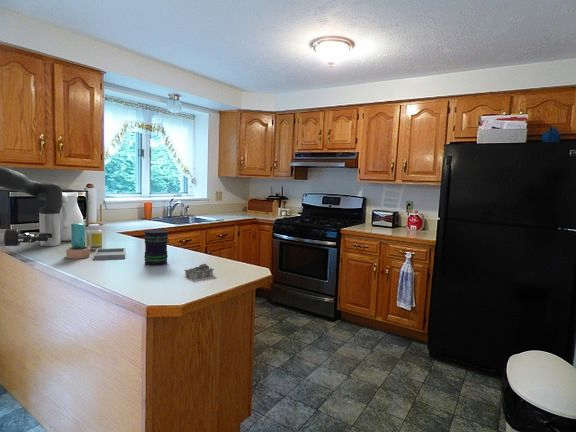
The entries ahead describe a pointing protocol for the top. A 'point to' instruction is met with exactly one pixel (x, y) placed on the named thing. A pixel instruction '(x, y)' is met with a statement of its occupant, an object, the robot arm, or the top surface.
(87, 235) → the supplement bottle
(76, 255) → the peach octagonal bowl
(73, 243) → the bottle
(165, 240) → the dark blue barrel
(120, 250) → the tray
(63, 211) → the pitcher
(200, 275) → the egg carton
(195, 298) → the top surface
